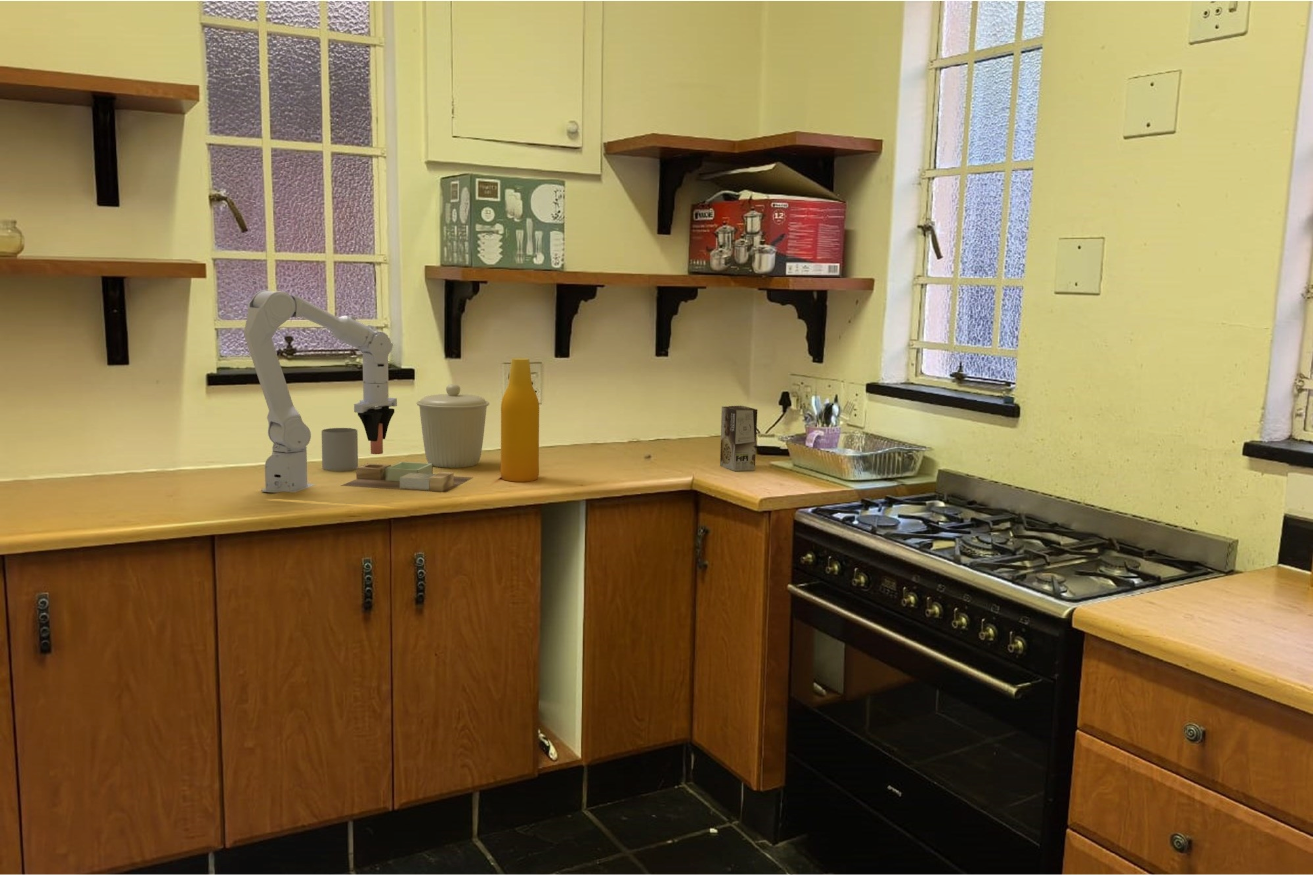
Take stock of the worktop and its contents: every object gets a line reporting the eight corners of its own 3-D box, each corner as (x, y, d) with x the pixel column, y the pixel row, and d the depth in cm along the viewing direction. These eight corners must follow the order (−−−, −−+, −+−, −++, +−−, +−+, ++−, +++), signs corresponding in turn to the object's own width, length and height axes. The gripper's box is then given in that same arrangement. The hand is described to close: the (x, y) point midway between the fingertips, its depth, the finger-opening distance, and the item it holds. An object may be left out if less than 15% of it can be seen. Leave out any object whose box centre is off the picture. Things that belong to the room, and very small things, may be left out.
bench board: (445, 494, 232) (445, 478, 232) (338, 488, 236) (338, 472, 236) (473, 479, 250) (473, 465, 249) (373, 473, 254) (372, 459, 253)
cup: (363, 468, 261) (362, 428, 260) (350, 474, 253) (349, 433, 252) (330, 466, 262) (329, 427, 260) (316, 472, 254) (315, 432, 252)
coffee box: (756, 470, 272) (758, 409, 270) (733, 471, 270) (736, 409, 267) (740, 464, 281) (743, 405, 278) (718, 465, 278) (721, 405, 276)
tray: (418, 482, 242) (418, 470, 242) (385, 480, 243) (385, 468, 243) (432, 475, 251) (432, 463, 250) (401, 473, 252) (401, 461, 252)
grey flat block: (429, 490, 234) (429, 479, 233) (399, 488, 235) (399, 477, 235) (439, 485, 240) (439, 474, 239) (410, 483, 241) (410, 472, 240)
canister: (450, 457, 279) (450, 379, 276) (503, 465, 270) (504, 384, 267) (402, 466, 264) (401, 384, 261) (456, 475, 255) (456, 389, 252)
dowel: (379, 454, 245) (379, 425, 244) (368, 453, 246) (368, 424, 245) (385, 452, 248) (384, 423, 247) (374, 452, 248) (373, 422, 247)
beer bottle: (535, 482, 248) (536, 361, 244) (496, 481, 249) (497, 359, 244) (541, 475, 257) (542, 358, 253) (504, 474, 258) (504, 357, 253)
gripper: (378, 378, 252) (379, 434, 254) (342, 384, 239) (343, 442, 241) (404, 380, 250) (404, 436, 252) (368, 385, 236) (369, 445, 238)
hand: (376, 439), depth 246 cm, fingers closed on dowel, 3 cm apart
